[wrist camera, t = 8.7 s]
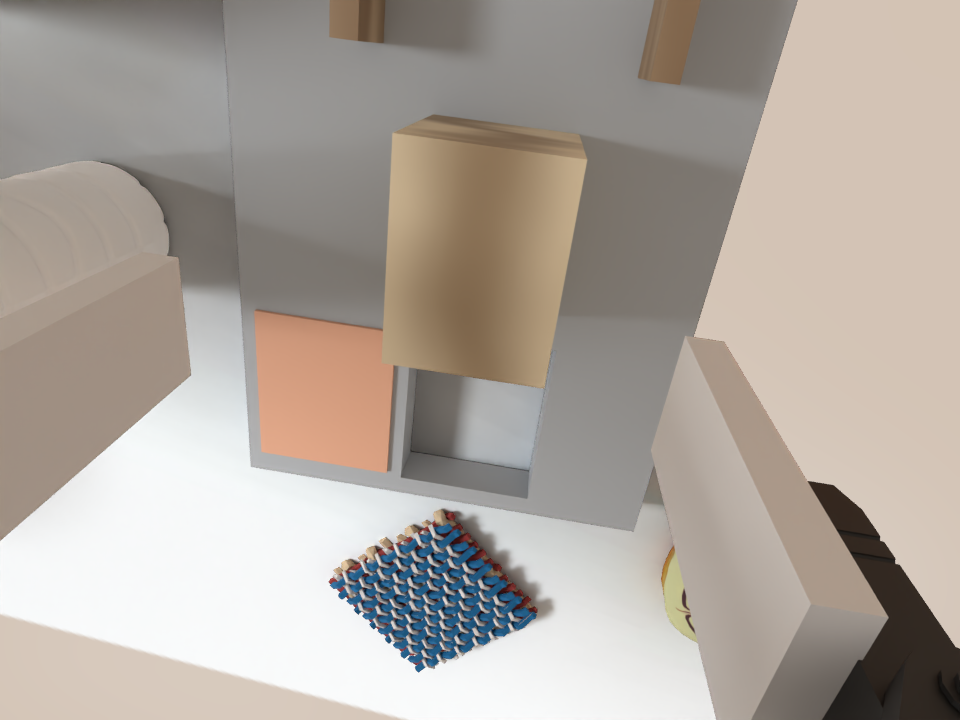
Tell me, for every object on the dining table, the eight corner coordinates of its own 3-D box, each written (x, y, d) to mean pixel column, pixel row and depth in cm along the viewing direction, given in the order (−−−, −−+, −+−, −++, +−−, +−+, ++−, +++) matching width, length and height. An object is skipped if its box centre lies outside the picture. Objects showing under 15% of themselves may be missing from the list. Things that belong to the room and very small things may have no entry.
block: (419, 296, 29) (381, 363, 22) (433, 114, 25) (392, 132, 19) (546, 315, 28) (544, 388, 22) (579, 134, 25) (587, 159, 18)
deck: (269, 441, 36) (249, 468, 34) (242, -183, 23) (206, -211, 21) (628, 501, 35) (634, 534, 33) (810, -114, 22) (841, -135, 20)
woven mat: (326, 563, 41) (315, 586, 39) (448, 496, 37) (442, 518, 36) (423, 656, 44) (417, 682, 42) (544, 603, 41) (544, 628, 39)
